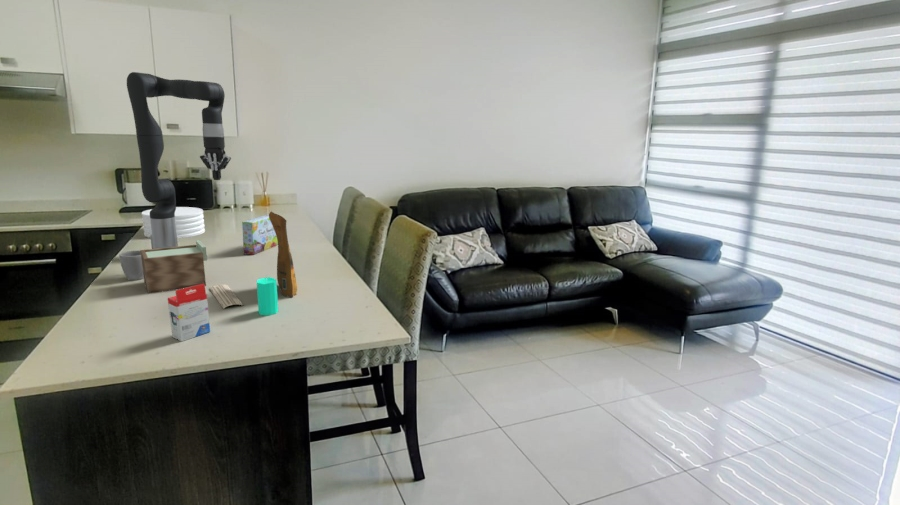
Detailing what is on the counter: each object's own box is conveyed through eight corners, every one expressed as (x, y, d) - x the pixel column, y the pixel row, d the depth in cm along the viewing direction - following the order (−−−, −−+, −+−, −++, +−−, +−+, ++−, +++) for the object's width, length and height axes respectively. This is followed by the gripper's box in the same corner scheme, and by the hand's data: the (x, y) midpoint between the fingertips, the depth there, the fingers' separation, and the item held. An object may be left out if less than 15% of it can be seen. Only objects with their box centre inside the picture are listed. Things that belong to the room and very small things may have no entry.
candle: (261, 308, 161) (259, 272, 158) (280, 308, 161) (278, 273, 159) (256, 315, 155) (253, 278, 152) (275, 315, 156) (273, 278, 153)
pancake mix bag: (280, 300, 169) (275, 218, 162) (272, 284, 185) (267, 209, 178) (300, 297, 172) (297, 217, 165) (290, 282, 188) (287, 208, 181)
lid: (200, 253, 190) (199, 240, 189) (206, 260, 180) (205, 247, 179) (145, 258, 180) (144, 245, 178) (149, 267, 170) (147, 252, 169)
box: (198, 275, 192) (195, 244, 189) (205, 285, 181) (202, 252, 178) (144, 282, 182) (140, 250, 179) (148, 293, 171) (144, 259, 168)
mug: (149, 280, 185) (146, 255, 182) (121, 282, 181) (118, 257, 178) (150, 271, 195) (147, 247, 193) (124, 274, 191) (120, 249, 188)
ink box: (201, 328, 144) (196, 279, 141) (210, 332, 142) (206, 283, 138) (171, 337, 138) (165, 286, 134) (180, 342, 135) (175, 290, 131)
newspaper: (209, 290, 178) (209, 285, 178) (230, 287, 182) (230, 282, 182) (223, 311, 159) (223, 306, 159) (246, 307, 163) (246, 302, 163)
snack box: (254, 255, 223) (252, 222, 220) (243, 254, 224) (240, 221, 221) (279, 245, 244) (277, 214, 240) (268, 244, 245) (267, 213, 241)
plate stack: (130, 236, 251) (128, 214, 248) (170, 226, 277) (168, 205, 274) (181, 240, 246) (178, 217, 243) (216, 229, 273) (214, 208, 270)
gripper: (192, 135, 193) (196, 179, 198) (221, 136, 191) (225, 181, 195) (205, 134, 201) (209, 178, 205) (234, 136, 198) (237, 180, 202)
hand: (217, 179), depth 200 cm, fingers closed
